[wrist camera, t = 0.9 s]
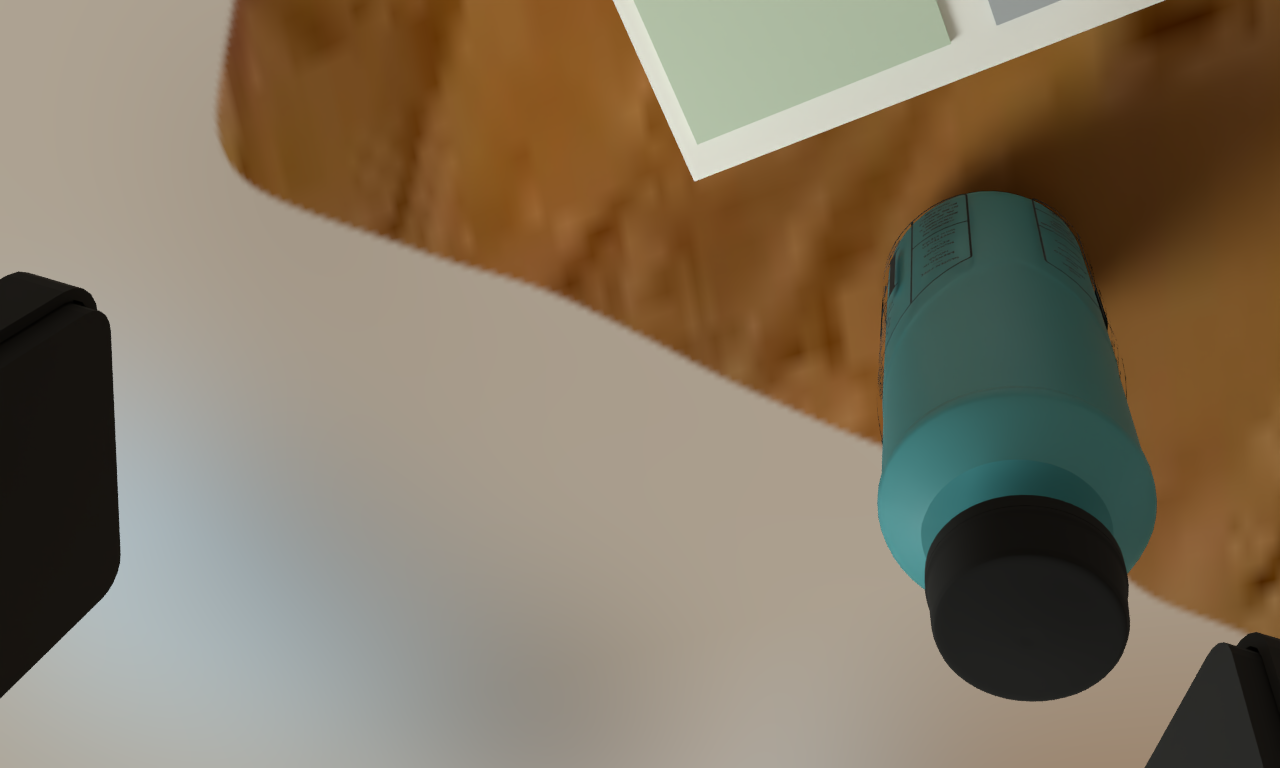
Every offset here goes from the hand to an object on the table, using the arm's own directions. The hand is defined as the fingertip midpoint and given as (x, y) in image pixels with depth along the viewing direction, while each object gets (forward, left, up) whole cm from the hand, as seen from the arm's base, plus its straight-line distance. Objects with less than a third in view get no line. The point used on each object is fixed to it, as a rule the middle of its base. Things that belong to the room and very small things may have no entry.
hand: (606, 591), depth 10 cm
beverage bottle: (-11, +3, -33) cm, 34 cm away
